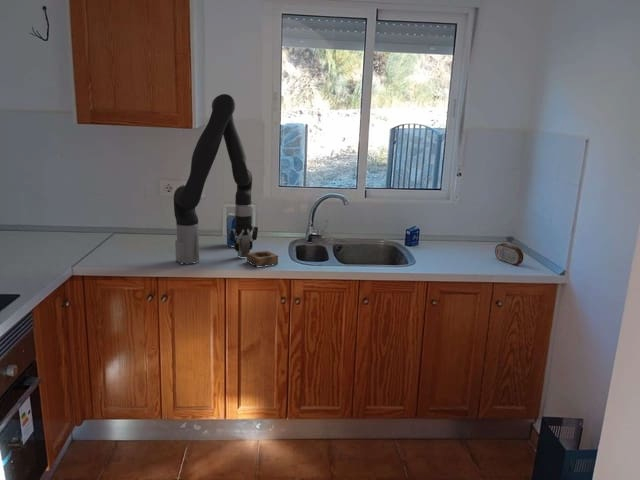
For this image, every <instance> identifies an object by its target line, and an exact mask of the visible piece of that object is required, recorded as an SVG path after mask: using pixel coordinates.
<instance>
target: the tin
mask: <svg viewBox="0 0 640 480" xmlns="http://www.w3.org/2000/svg"><path fill="white" fill-rule="evenodd" d="M494 254H495V256H496V258H497V260H498V261H500V262H504V263H505V264H510V265H512V266H517V265H520V264H522V263H523V261H524V253H523V250H522V249H521V248H519V247H518V246H515V245H512V244H508V243H506V242H502V243H499V244H497V245H496V246H495V249H494Z"/></svg>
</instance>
